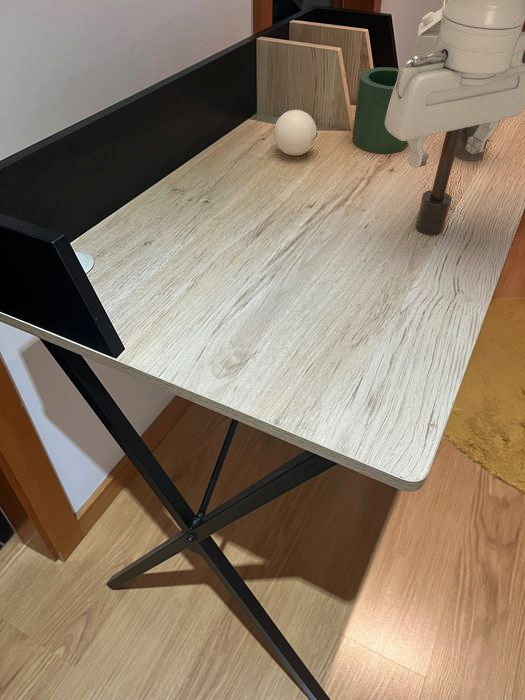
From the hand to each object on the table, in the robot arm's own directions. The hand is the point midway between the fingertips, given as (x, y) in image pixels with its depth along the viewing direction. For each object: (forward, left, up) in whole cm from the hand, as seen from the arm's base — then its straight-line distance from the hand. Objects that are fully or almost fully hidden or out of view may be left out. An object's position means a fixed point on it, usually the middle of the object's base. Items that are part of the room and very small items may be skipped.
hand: (445, 158), depth 76 cm
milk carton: (-4, -40, -11) cm, 42 cm away
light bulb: (+20, -23, -11) cm, 32 cm away
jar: (+5, -28, -11) cm, 30 cm away
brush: (0, 0, -11) cm, 11 cm away
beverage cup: (-10, -24, -11) cm, 28 cm away
